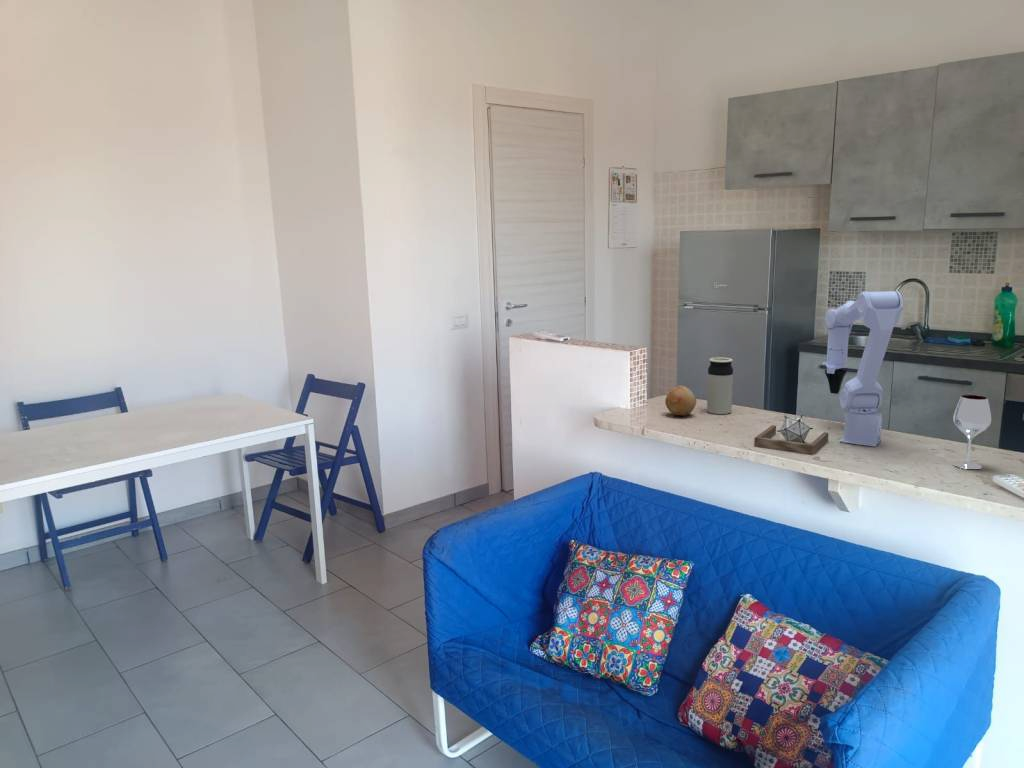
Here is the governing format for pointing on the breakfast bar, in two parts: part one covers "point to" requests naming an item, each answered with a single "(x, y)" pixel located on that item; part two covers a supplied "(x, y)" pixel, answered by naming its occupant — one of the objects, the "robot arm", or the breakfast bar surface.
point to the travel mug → (720, 386)
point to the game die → (794, 429)
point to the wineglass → (971, 422)
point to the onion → (680, 401)
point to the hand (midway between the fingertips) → (834, 393)
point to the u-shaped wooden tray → (788, 442)
